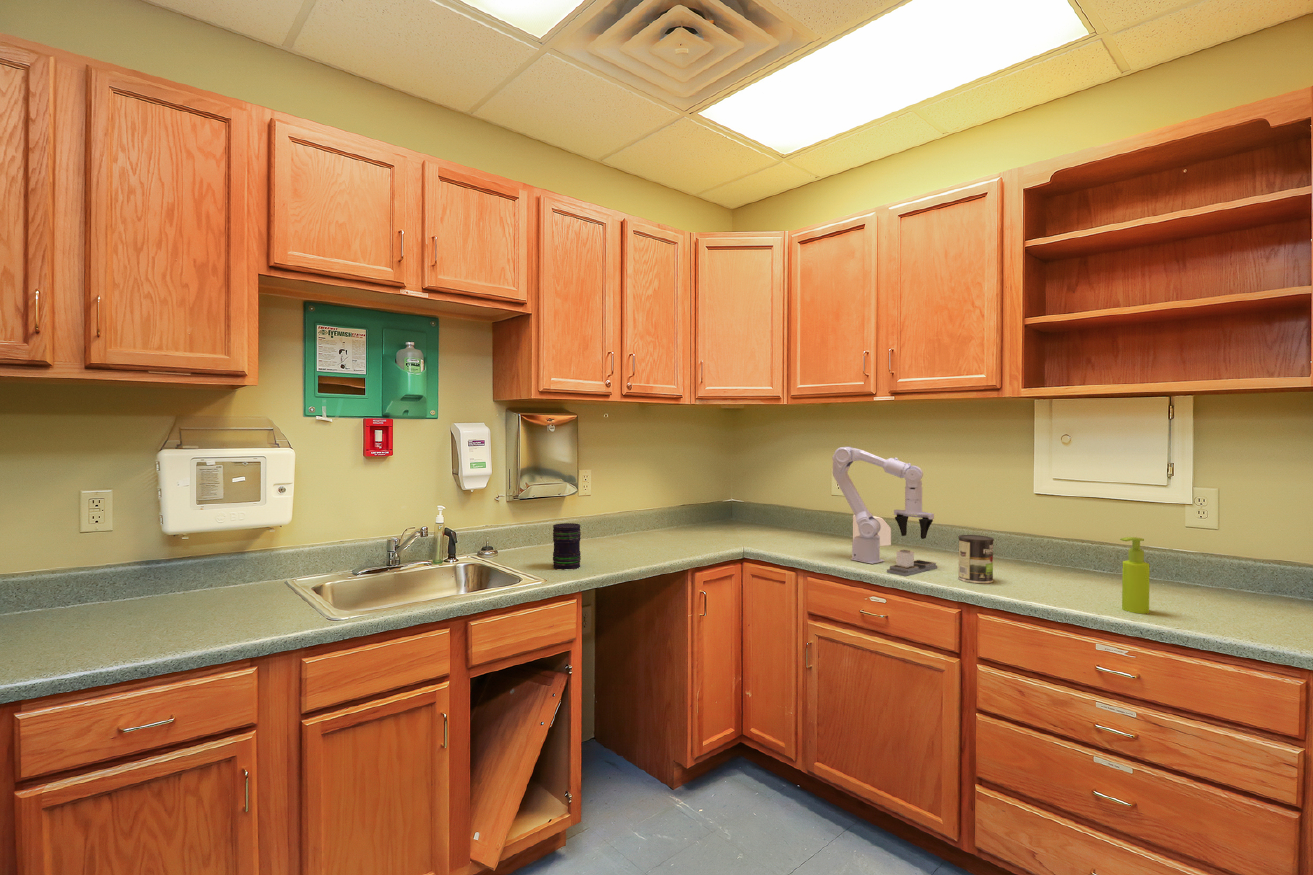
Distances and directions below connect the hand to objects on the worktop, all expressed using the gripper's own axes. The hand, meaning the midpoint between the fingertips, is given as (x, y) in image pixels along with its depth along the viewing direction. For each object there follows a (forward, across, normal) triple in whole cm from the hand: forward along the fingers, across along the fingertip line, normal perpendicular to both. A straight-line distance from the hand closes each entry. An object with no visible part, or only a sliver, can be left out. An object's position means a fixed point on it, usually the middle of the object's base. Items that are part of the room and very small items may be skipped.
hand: (913, 537), depth 227 cm
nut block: (+9, -4, +12) cm, 15 cm away
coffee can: (+11, -24, +3) cm, 26 cm away
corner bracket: (+11, +35, -26) cm, 45 cm away
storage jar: (+10, +72, +102) cm, 125 cm away
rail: (+10, -4, +7) cm, 13 cm away
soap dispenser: (+11, -67, +3) cm, 68 cm away
